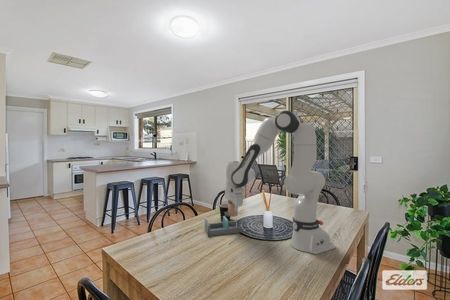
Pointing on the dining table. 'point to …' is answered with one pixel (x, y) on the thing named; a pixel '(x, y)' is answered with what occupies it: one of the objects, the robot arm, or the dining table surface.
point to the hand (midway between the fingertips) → (232, 209)
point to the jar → (231, 209)
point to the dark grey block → (221, 228)
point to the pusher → (225, 222)
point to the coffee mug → (224, 211)
